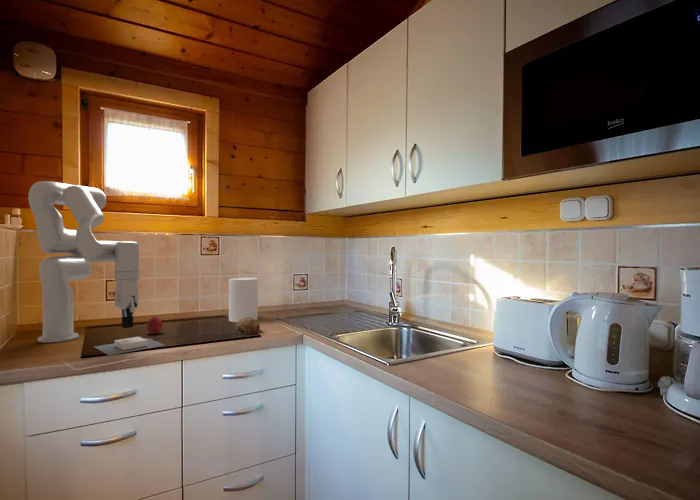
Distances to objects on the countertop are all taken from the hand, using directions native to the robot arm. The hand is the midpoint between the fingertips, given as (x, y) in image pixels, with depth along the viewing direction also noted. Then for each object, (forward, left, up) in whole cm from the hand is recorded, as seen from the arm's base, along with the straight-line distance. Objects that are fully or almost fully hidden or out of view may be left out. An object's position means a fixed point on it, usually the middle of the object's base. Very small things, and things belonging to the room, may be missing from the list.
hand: (127, 327), depth 142 cm
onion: (-12, +14, -7) cm, 19 cm away
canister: (-15, +57, -7) cm, 59 cm away
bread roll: (+10, +43, -7) cm, 45 cm away
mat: (+2, 0, -7) cm, 7 cm away
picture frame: (0, 0, -5) cm, 5 cm away
